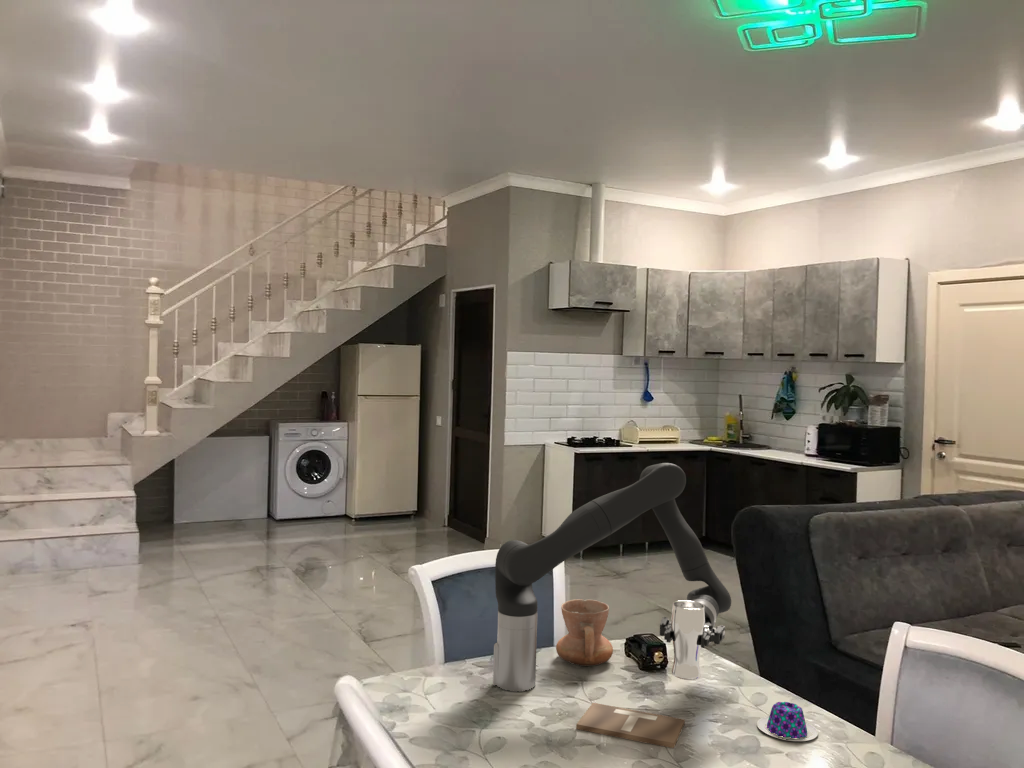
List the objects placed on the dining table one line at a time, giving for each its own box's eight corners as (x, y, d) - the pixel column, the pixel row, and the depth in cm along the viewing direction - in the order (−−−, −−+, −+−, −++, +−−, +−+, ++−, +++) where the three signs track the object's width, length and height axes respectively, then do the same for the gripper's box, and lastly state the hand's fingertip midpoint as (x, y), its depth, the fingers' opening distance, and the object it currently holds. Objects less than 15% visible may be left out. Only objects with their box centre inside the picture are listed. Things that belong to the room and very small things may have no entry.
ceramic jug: (554, 648, 213) (555, 595, 212) (609, 649, 212) (609, 596, 212) (557, 674, 195) (558, 617, 194) (617, 675, 194) (618, 618, 194)
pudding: (825, 746, 159) (826, 720, 159) (764, 743, 160) (765, 717, 160) (807, 720, 171) (808, 696, 171) (751, 717, 172) (751, 693, 172)
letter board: (576, 728, 164) (576, 723, 164) (592, 707, 175) (592, 702, 175) (673, 748, 156) (673, 742, 156) (684, 724, 167) (684, 719, 167)
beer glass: (703, 682, 166) (706, 610, 165) (669, 679, 167) (671, 607, 167) (702, 670, 173) (704, 601, 172) (669, 667, 174) (672, 598, 174)
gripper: (667, 598, 186) (651, 617, 170) (730, 606, 180) (721, 627, 165) (666, 630, 186) (650, 652, 170) (729, 640, 180) (719, 664, 165)
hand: (685, 640), depth 168 cm, fingers closed on beer glass, 6 cm apart
